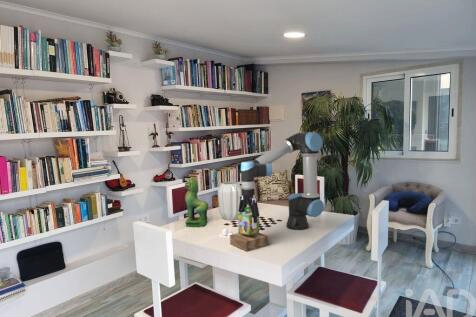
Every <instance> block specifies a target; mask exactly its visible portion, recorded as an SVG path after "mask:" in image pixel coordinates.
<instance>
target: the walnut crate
mask: <svg viewBox="0 0 476 317" xmlns="http://www.w3.org/2000/svg"><path fill="white" fill-rule="evenodd" d="M229 242H230V243H229V245H231V246H232V247H235V248H237V249H239V250H242V251H243V250H244V251H243V252H246V253H248V252H251V251H255V250H258V249H261V248H265V247H269V246H270V243H269V235H267V234H264V233H261V232H260V231H259V232H258V233H255V234H252V235H246V234H242V233H239V232H236V233H234V234H232V235H230V236H229Z"/></svg>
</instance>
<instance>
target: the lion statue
mask: <svg viewBox="0 0 476 317" xmlns="http://www.w3.org/2000/svg"><path fill="white" fill-rule="evenodd" d="M184 187H185V189H186V190H187V191H186V193H185V195H184V196H185V197H184V201H185V204H186V208H187V212H188V218H187V219H186V220H185V227H186V228H201V227H205V226H206V224H207V223H208V216H207V215H208V208H209V203H208V202H207V201H205V200H200V199H198V192H199V183H198V181H197V179H195V178H194V177H193V176H191V177H190V178H188V179H187V181H186V182H184ZM195 212H196V214H198V215H199V216H197V217H196V216H195Z"/></svg>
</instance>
